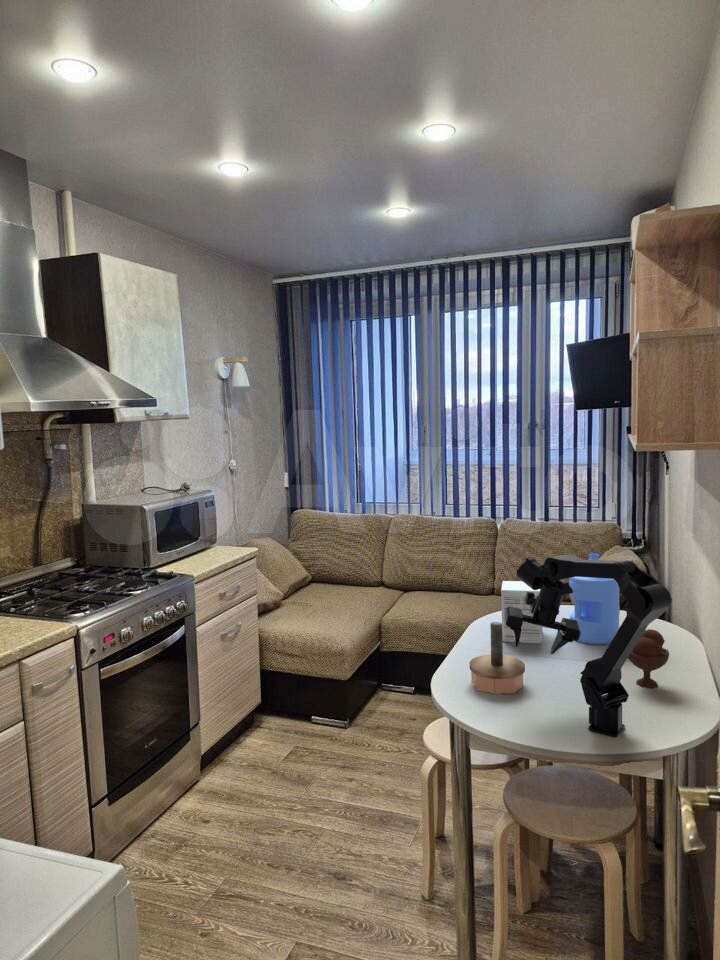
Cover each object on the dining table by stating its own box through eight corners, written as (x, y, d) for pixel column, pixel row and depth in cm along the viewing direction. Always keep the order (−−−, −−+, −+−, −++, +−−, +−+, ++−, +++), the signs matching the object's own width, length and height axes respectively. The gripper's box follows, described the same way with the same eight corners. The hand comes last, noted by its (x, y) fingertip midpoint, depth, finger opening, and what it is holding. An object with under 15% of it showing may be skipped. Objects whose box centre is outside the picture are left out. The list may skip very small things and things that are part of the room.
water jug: (598, 627, 225) (597, 548, 223) (630, 641, 210) (630, 556, 208) (559, 633, 220) (559, 552, 218) (590, 648, 205) (589, 561, 203)
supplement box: (503, 629, 227) (502, 580, 225) (542, 631, 223) (541, 581, 222) (501, 642, 214) (500, 589, 212) (542, 644, 210) (542, 591, 209)
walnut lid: (520, 658, 186) (519, 615, 185) (529, 679, 171) (528, 632, 170) (467, 658, 187) (466, 615, 186) (471, 678, 172) (471, 632, 171)
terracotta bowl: (529, 681, 180) (529, 666, 180) (507, 697, 170) (507, 681, 170) (487, 671, 188) (487, 656, 188) (464, 686, 178) (464, 670, 178)
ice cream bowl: (631, 673, 184) (631, 621, 182) (674, 682, 177) (674, 628, 175) (619, 685, 176) (619, 631, 174) (663, 695, 168) (663, 639, 167)
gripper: (580, 591, 171) (564, 639, 177) (510, 576, 172) (496, 624, 178) (588, 614, 161) (570, 664, 167) (513, 598, 162) (498, 649, 168)
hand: (533, 649), depth 170 cm, fingers open, 9 cm apart
